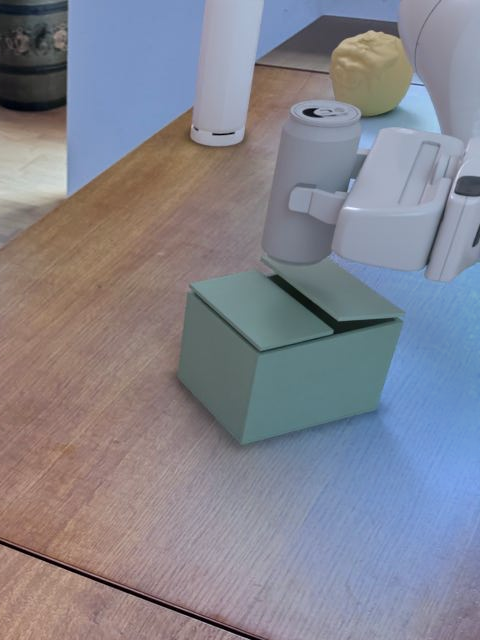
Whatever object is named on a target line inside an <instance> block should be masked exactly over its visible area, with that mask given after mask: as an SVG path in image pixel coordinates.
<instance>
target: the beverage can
mask: <svg viewBox="0 0 480 640" xmlns="http://www.w3.org/2000/svg"><path fill="white" fill-rule="evenodd" d="M361 117H362V116H361V111H360V110H359V109H358V108H357V107H355V106H353V105H350V104H347V103H343V102H338V101H336V100H330V99H329V100H328V99H312V100H305V101H300V102H298V103H295V104H293V105H292V106H291V108H290V111H289V116H288V117H287V118H286V120H285V121H284V122H283V124H282V128H281V134H280V137H279V138H280V140H279V144H278V149H277V156H276V159H275V167H274V172H273V177H272V182H271V187H270V193H269V198H268V204H267V210H266V215H265V220H264V226H263V231H262V236H261V242H260V245H261V249H262V250H263V251H264V253H265V254H266V255H267V256H266V257H269V258H270V259H271V260H273V261H275V262H277V263H280V264H284V265H288V266H310V265H314V264H317V263H319V262H320V261H322V260H323V259H325V258H327V257H328V258H329V256H331V254H332V253H333V251H332V250H331V246H332V241H333V236H334V232H335V228H336V225H334V224H327V223H324V222H323V221H321V220H319V219H317V218H315V217H313V216H311V215H309V213H302V212H296V211H291V210H290V209H289V207H288V204H289V199H290V194H291V191H292V190H293V188H294V186H295V185H296V184H297V183H304V184H314V185H316V189H320V190H323V191H326V192H330V193H333V194H334V193H335V192H336V191H340V192H347V193H348V191H349V187H350V183H351V180H352V179H351V175H352V171H353V166H354V162H355V158H356V154H357V150H358V148H359V145H360V142H361V139H362V138H361V137H362V134H363V127H362V125H361V122H360V120H361Z"/></svg>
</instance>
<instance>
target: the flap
mask: <svg viewBox="0 0 480 640" xmlns="http://www.w3.org/2000/svg"><path fill="white" fill-rule="evenodd" d="M260 262H262V264H264V266H266V267H268V268H269V269H270V270H272V271H273V273H275V272H276V273H277V274H278V275H279V276H281V277H282V278H283V279H285V280H286V281H287V282H288V283H290V284H291V285H292V286H294V287H295V288H296V289H297V290H299V291H300V292H301V293H303V294H304V295H305V296H306V297H308V298H309V299H310V300H312V301H313V302H314V303H315V304H317V305H318V306H319V307H320V308H322V309H323V310H324V311H326V312H327V313H328V314H329V315H331V316H332V317H333V318H335V319H336V320H337V321H350V320H365V319H380V318H395V317H398V318H404V317H405V316H406V314H407V313H406V312H405V311H404V310H403V309H401V308H400V307H398V306H397V305H396V304H394V303H392V302H391V301H390V300H389V299H387V298H385V297H384V296H383V295H381V294H380V293H378V292H377V291H375V290H374V289H373V288H371V286H368V285H367V284H365V282H363V281H362V280H360V279H359V278H357V277H356V276H355V275H353V274H352V273H351V272H349V271H348V270H346V269H344V268H343V267H342V266H341V265H339V264H337V263H336V262H335V261H334V260H332V259H330V258H329V256H328V257H327V258H325V259H323V260H322V261H320V262H319V263H317V264H314V265H310V266H288V265H284V264H280V263H277V262H275V261H273V260H271V259H270V258H269V257H268V256H261V257H260Z"/></svg>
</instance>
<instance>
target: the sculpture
mask: <svg viewBox="0 0 480 640" xmlns="http://www.w3.org/2000/svg"><path fill="white" fill-rule="evenodd" d="M330 56H331V57H330V66H329V69H328V72H329V73H328V77H329V79H330V80H331V86H332V91H333V97H334V101H338V102H343V103H347V104H350V105H353V106H355V107H357V108H358V109H359V110H360V111H361V117H374V116H375V117H376V116H379V115H382V114H385V113H387V112H390V111H392V110H394V109H395V108H396V107H398V106H399V105H400V103H401V102H402V101H403V100H404V98H405V97H406V95H407V94H408V92H409V89H410V87H411V85H412V81H413V76H414V70H413V68H412V66H411V64H410V63H409V61H408V58H407V56H406V54H405V51H404V49H403V46H402V43H401V40H400V37H397V36H395V35H392V34H388V33H385V32H383V31H379V32H377V31H375V30H373V29H371V30H368V31H366V32H365V33H359V34H357V35H355V36H352V37H348V38H347V37H346V38H345V39H343V40H342V41H341V42H340V43H339V44H338V45H337V47H336V48H334V50H332V53H331V55H330Z"/></svg>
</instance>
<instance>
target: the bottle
mask: <svg viewBox="0 0 480 640" xmlns="http://www.w3.org/2000/svg"><path fill="white" fill-rule="evenodd" d="M204 2H205V3H204V11H203V20H202V27H201V37H200V38H201V39H200V45H199V46H200V47H199V55H198V63H197V64H198V65H197V73H196V82H195V92H194V101H193V109H192V119H191V120H192V123H191V126H190V127H191V128H190V134H189V135H190V136H189V137H190V139H191V140H192V141H194V142H195V143H197V144H200V145H203V146H210V147H228V146H233V145H236V144H239V143H241V142H242V141H244V137H245V129H246V123H247V118H248V112H249V105H250V99H251V92H252V84H253V77H254V72H255V71H254V70H255V65H256V59H257V51H258V46H259V45H258V44H259V39H260V32H261V26H262V18H263V13H264V5H265V0H205V1H204ZM230 133H232V134H230ZM215 134H216V135H215ZM217 134H221V135H217ZM222 134H224V135H222ZM225 134H226V135H225Z"/></svg>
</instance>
